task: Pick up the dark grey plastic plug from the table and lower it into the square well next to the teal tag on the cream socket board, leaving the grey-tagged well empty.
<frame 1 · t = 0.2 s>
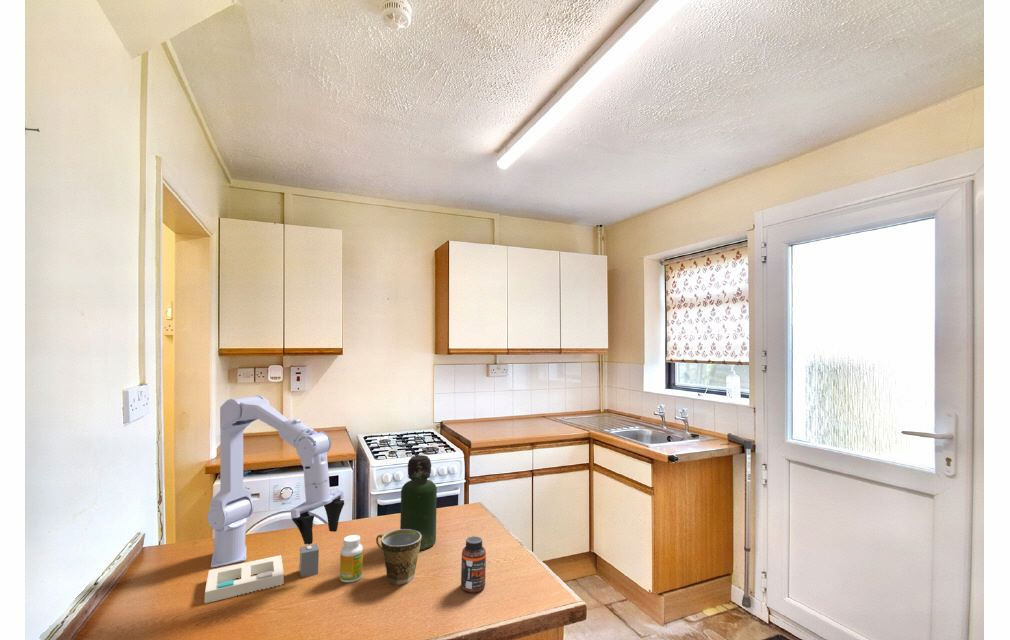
hand: (321, 537, 110), 10 cm above the countertop, tool pointing down, fingers open, 7 cm apart
plug: (308, 572, 113), on the countertop
supplement bottle: (351, 578, 111), on the countertop
socket board: (245, 582, 108), on the countertop
green bottle: (418, 543, 130), on the countertop
ceramic cup: (395, 577, 111), on the countertop
supplement bottle 2: (473, 587, 107), on the countertop
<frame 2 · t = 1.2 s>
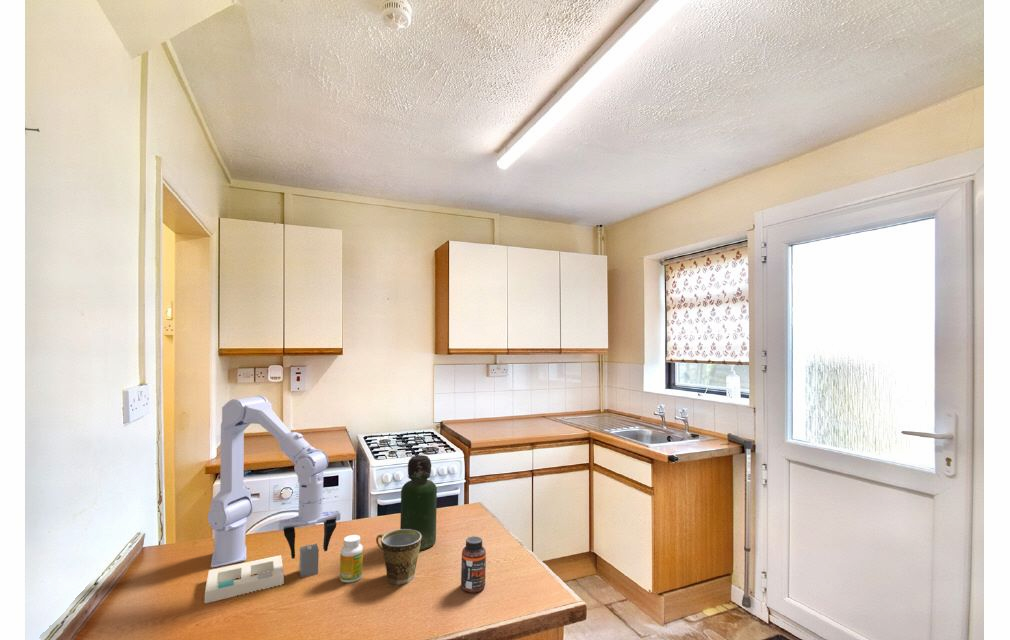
hand: (309, 553, 113), 5 cm above the countertop, tool pointing down, fingers open, 7 cm apart
nothing on the countertop moved.
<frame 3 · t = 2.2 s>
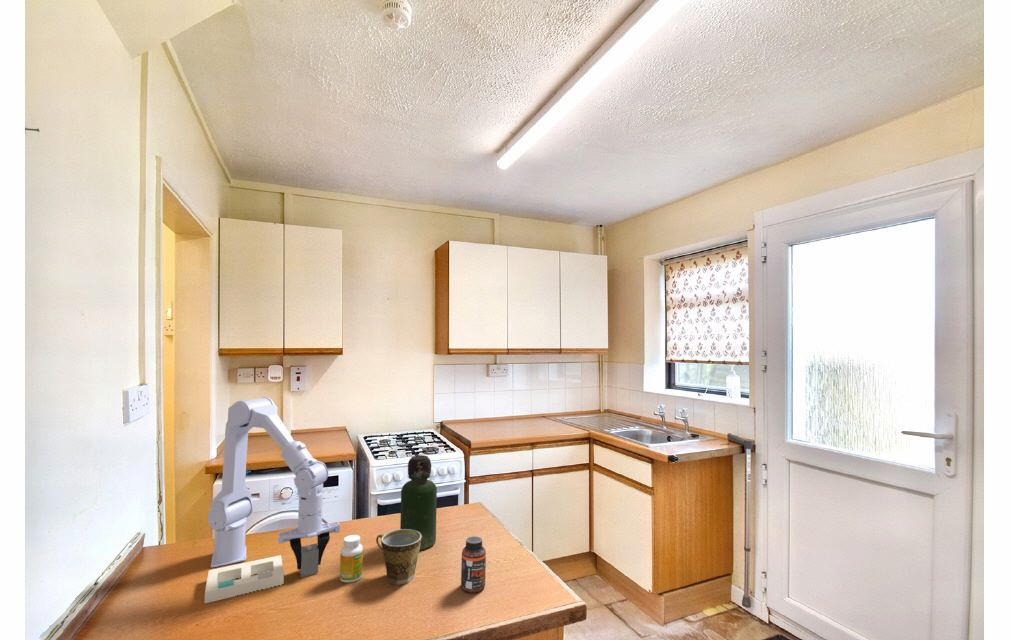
hand: (308, 565, 113), 2 cm above the countertop, tool pointing down, fingers closed on plug, 4 cm apart
plug: (308, 571, 113), on the countertop, touching gripper
everything else where it was.
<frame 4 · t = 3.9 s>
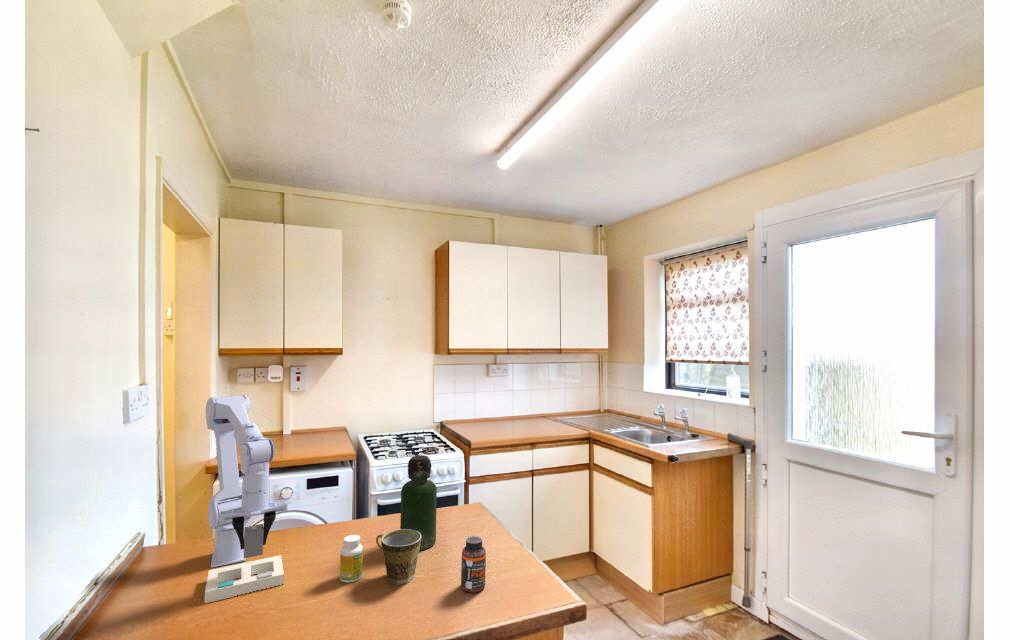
hand: (253, 545, 109), 9 cm above the countertop, tool pointing down, fingers closed on plug, 4 cm apart
plug: (253, 553, 109), point 7 cm above the countertop, touching gripper
everything else where it was.
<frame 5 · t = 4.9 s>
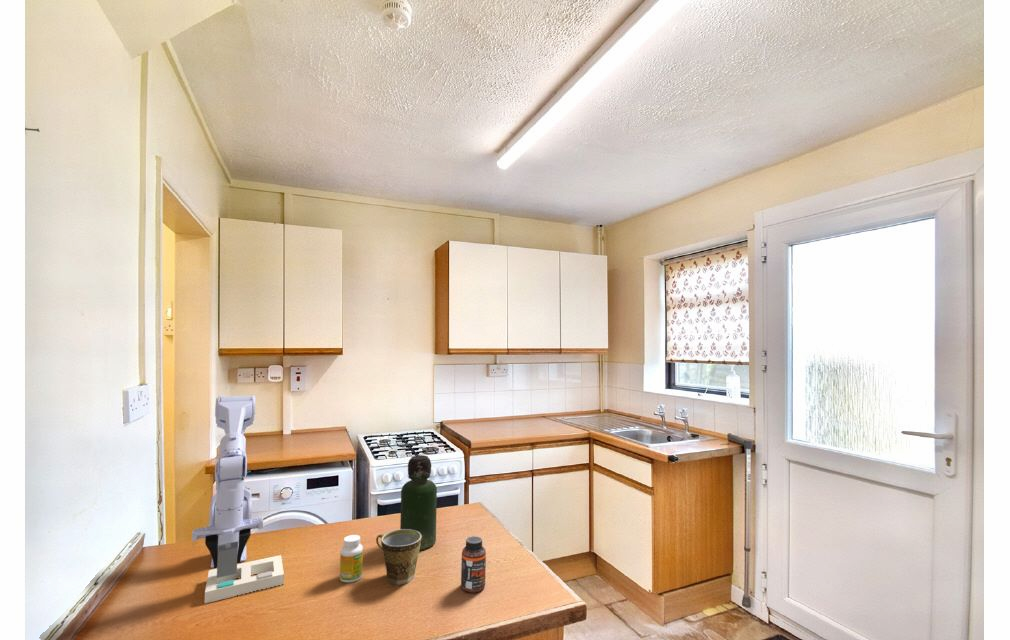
hand: (227, 563, 106), 5 cm above the countertop, tool pointing down, fingers closed on plug, 4 cm apart
plug: (227, 571, 106), point 4 cm above the countertop, touching gripper
everything else where it was.
when the fingers open (3 cm above the countertop, at t = 5.7 s): plug drops 2 cm, resting in socket board.
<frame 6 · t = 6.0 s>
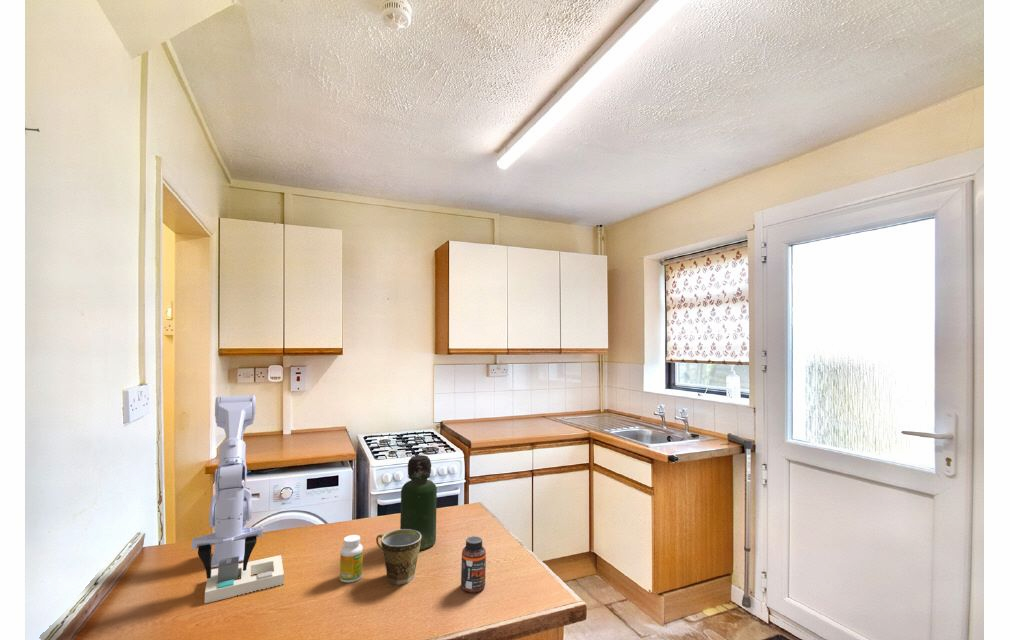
hand: (227, 572, 106), 3 cm above the countertop, tool pointing down, fingers open, 7 cm apart
plug: (227, 587, 106), resting in socket board
everything else where it was.
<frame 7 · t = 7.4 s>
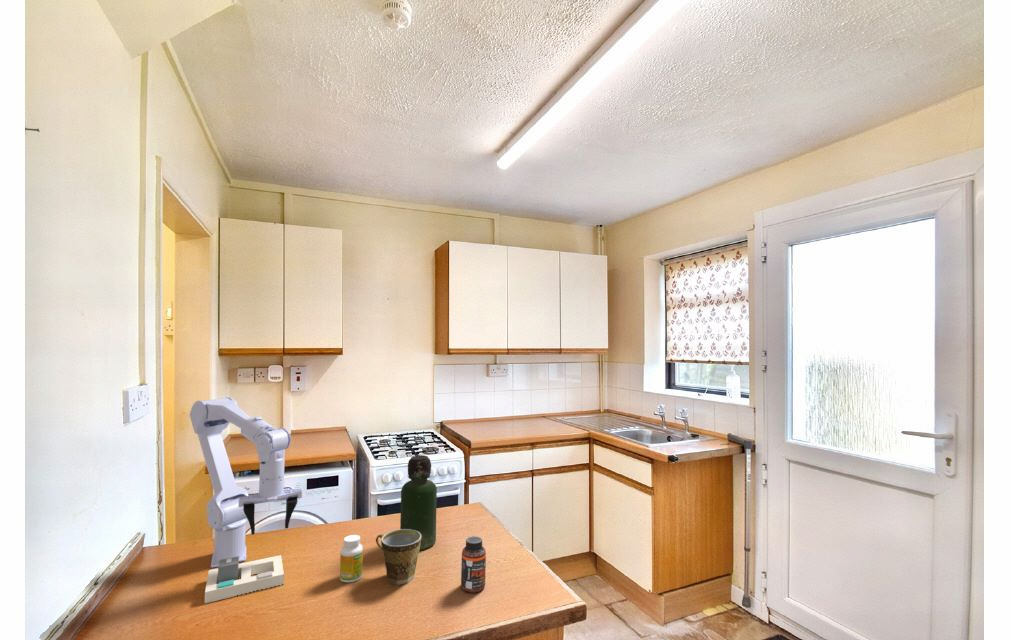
hand: (270, 529, 114), 10 cm above the countertop, tool pointing down, fingers open, 7 cm apart
nothing on the countertop moved.
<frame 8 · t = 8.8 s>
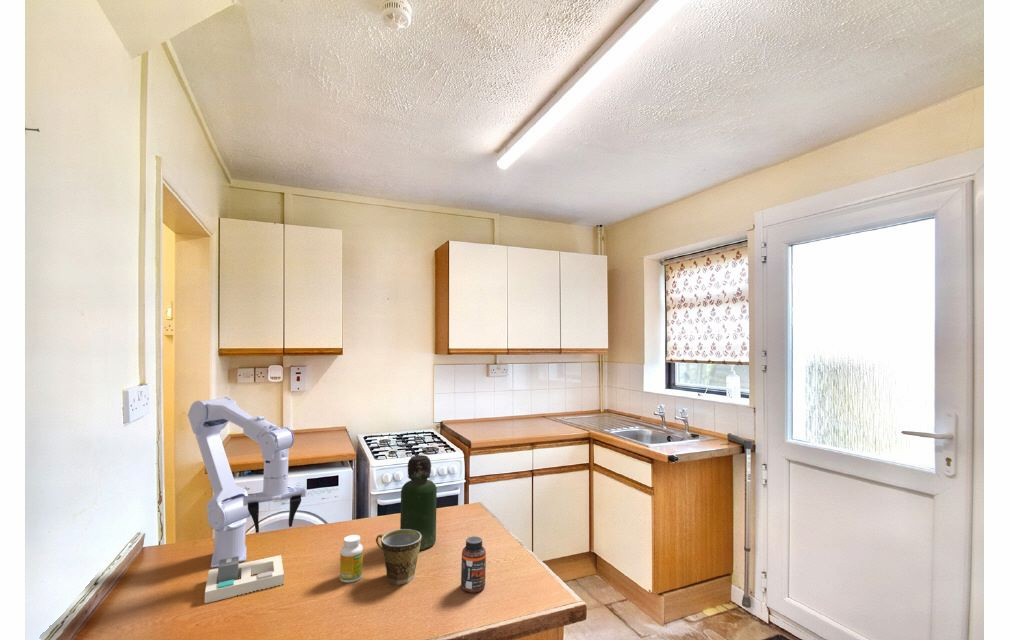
hand: (274, 528, 115), 10 cm above the countertop, tool pointing down, fingers open, 7 cm apart
nothing on the countertop moved.
at the end: plug 0.3 cm from the target spot on the socket board, point 0.0 cm above the socket board's base; plug tilted 0°; the gripper is holding nothing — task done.
